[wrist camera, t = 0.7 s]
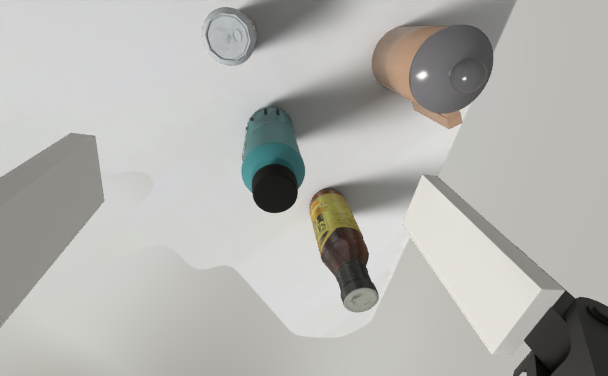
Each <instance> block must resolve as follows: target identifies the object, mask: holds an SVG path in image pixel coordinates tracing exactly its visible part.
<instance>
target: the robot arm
mask: <svg viewBox="0 0 608 376" xmlns="http://www.w3.org/2000/svg"><path fill="white" fill-rule="evenodd" d="M103 202H104V195H103V188H102V181H101V174H100V167H99V159H98V152H97V145H96V138H95V136H92V135H84V134H75V133H70V134H69V135H67V136H66V137H64V138H62V139H61V140H59V141H58V142H56V143H54V144H53V145H51V146H50V147H48V148H47V149H45V150H43V151H42V152H40V153H39V154H37V155H35V156H34V157H32V158H31V159H29V160H28V161H26V162H24V163H23V164H21V165H20V166H18V167H17V168H15V169H13V170H12V171H10V172H9V173H7V174H5V175H4V176H2V177H1V178H0V327H1V326H2V325H3V324H4V322H5V321H6V320H7V319H8V318H9V316H10V315H11V314H12V313H13V312H14V310H15V309H16V308H17V307H18V305H19V304H20V303H21V302H22V301H23V299H24V298H25V297H26V296H27V294H28V293H29V292H30V291H31V290H32V288H33V287H34V286H35V285H36V284H37V282H38V281H39V280H40V279H41V277H42V276H43V275H44V274H45V273H46V271H47V270H48V269H49V268H50V266H51V265H52V264H53V263H54V261H55V260H56V259H57V258H58V257H59V255H60V254H61V253H62V252H63V251H64V249H65V248H66V247H67V246H68V245H69V243H70V242H71V241H72V239H73V238H74V237H75V236H76V235H77V234H78V232H79V231H80V230H81V229H82V228H83V226H84V225H85V224H86V223H87V221H88V220H89V219H90V218H91V217H92V215H93V214H94V213H95V212H96V210H97V209H98V208H99V207H100V206H101V204H102V203H103ZM402 226H403V227H404V229H405V230H406V231H407V233H408V234H409V236H410V237H411V239H412V240H413V242H414V243H415V244H416V246H417V247H418V249H419V250H420V252H421V253H422V254H423V256H424V257H425V259H426V260H427V261H428V263H429V265H430V266H431V267H432V269H433V270H434V272H435V273H436V275H437V276H438V278H439V279H440V280H441V282H442V283H443V285H444V286H445V287H446V289H447V290H448V292H449V293H450V295H451V296H452V298H453V299H454V300H455V302H456V303H457V305H458V306H459V308H460V309H461V311H462V312H463V314H464V315H465V316H466V318H467V319H468V321H469V322H470V324H471V325H472V327H473V328H474V329H475V331H476V332H477V334H478V335H479V337H480V338H481V339H482V341H483V342H484V344H485V345H486V347H487V348H488V350H489V351H490V352H491V354H492V355H503V354H514V353H515V352H516V350H517V349H518V348H519V347H520V345H521V344H522V343H523V342H524V341H525V342H526V344H527V345H528V346H529V347H530V349H531V350H532V351H531V352H530V353H529V354H528V355H527V356H526V358H525V359H524V360H523V361H522V362H521V364H520V365H519V366H518V367H517V368H516V369H515V371H514V374H513V376H519V375H520V374H521V373H522V372H527V376H608V306H606V305H604V304H602V303H600V302H598V301H595V300H592V299H589V298H584V297H579V298H576V299H575V298H574V297H573V296H572V295H571V294H570V293H568V292H567V291H566V290H565V289H564V288H563V287H562V286H560V285H559V284H558V283H557V282H556V281H555V280H554V279H553V278H552V277H550V276H549V275H548V274H547V273H546V272H545V271H544V270H543V269H541V268H540V267H538V265H537V264H536V263H534V262H533V261H532V260H531V259H530V258H529V257H527V255H526V254H525V253H523V252H522V251H521V250H520V249H519V248H518V247H517V246H515V245H514V244H513V243H512V242H511V241H509V240H508V239H507V238H506V237H505V236H504V235H503V234H501V233H500V232H499V231H498V230H497V229H496V228H495V227H494V226H492V225H491V224H490V223H489V222H488V221H487V220H486V219H485V218H484V217H482V216H481V215H480V214H479V213H478V212H477V211H476V210H475V209H473V208H472V207H471V206H470V205H469V204H468V203H467V202H465V201H464V200H463V199H462V198H461V197H460V196H459V195H458V194H457V193H455V192H454V191H453V190H452V189H451V188H450V187H449V186H448V185H446V184H445V183H444V182H443V181H442V180H441V179H440V178H439V177H438V176H430V175H422V176H421V179H420V181H419V184H418V186H417V188H416V191H415V193H414V196H413V198H412V201H411V203H410V206H409V208H408V211H407V213H406V215H405V218H404V220H403V223H402Z"/></svg>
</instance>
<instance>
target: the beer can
mask: <svg viewBox="0 0 608 376" xmlns="http://www.w3.org/2000/svg"><path fill="white" fill-rule="evenodd" d="M202 39H203V44H204V46H205V48H206V50H207V52H208V53H209V54H210V56H211V57H212V58H214V59H215V60H216V61H217V62H219V63H222V64H224V65H230V66H233V65H239V64H241V63H243V62H245V61H246V60H247V59H248V58H249V57H250V56H251V54H252V52H253V50H254V48H255V44H256V41H257V31H256V28H255V25H254V23H253V22H252V20H251V19H250V18H249V17H247V16H246V15H245V14H243V13H242V12H240V11H238V10H236V9H234V8H228V7H223V8H219V9H216V10H214V11H213V12H211V13H210V14H209V15H208V16H207V17H206V19H205V21H204V24H203V27H202Z"/></svg>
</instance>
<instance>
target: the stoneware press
mask: <svg viewBox="0 0 608 376" xmlns="http://www.w3.org/2000/svg"><path fill="white" fill-rule="evenodd" d="M492 66H493V50H492V46H491V44H490V41H489V39H488V38H487V36H486V35H485V34H484V33H483V32H482V31H481V30H479V29H477V28H475V27H473V26H469V25H452V26H400V27H397V28H394V29H392V30H390V31H389V32H387V33H386V34H385V35H384V36H383V37H382V38H381V39H380V41H379V42H378V44H377V46H376V48H375V50H374V53H373V58H372V69H373V73H374V76H375V78H376V79H377V81H378V82H379V83H380V84H381V85H382V86H384V87H385V88H387V89H389V90H391V91H393V92H395V93H397V94H399V95H401V96H403V97H405V98H407V99H409V100H411V101H412V103H413V106H414V110H415V111H417V112H419V113H421V114H423V115H424V116H426V117H428V118H430V119H432V120H433V121H435V122H437V123H439V124H441V125H442V126H444V127H446V128H448V129H451V128H453V127H455V126H457V125H459V124H461V123H462V118H461V113H460V112H459V110H460V109H462V108H464V107H466V106H467V105H469V104H470V103H471V102H472V101H473V100H475V99H476V97H477V96H478V95H479V94H480V93H481V92H482V90H483V89H484V87H485V85H486V84H487V82H488V79H489V77H490V74H491V71H492Z"/></svg>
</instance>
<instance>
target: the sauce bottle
mask: <svg viewBox="0 0 608 376" xmlns="http://www.w3.org/2000/svg"><path fill="white" fill-rule="evenodd" d="M310 216H311V219H312V223H313V227H314V231H315V235H316V240H317V243H318V247H319V251H320V255H321V259H322V261H323V263H324V264H325V265H326V266H327V267H328V268H329V270H330V271H331V272H332V273H333V274H334V275H335V277H336V279H337V281H338V283H339V286H340V289H341V299H342V301H343V304H344V306H345V308H346V309H348V310H349V311H352V312H364V311H367V310H369V309H371V308H372V307H373V306H374V305H375V304H376V303H377V301H378V292H377V290H376V287H375V285H374V284H373V283H372V282H371V279H370V277H369V275H368V271H367V268H366V264H367V261H368V257H369V253H368V250H367V246H366V244H365V242H364V240H363V236H362V234H361V232H360V229H359V227H358V225H357V223H356V221H355V218H354V216H353V214H352V212H351V210H350V208H349V205H348V203H347V201H346V200H345V198H344V197H343V196H342V195H341V194H340V193H339V192H338V191H336V190H333V189H325V190H322V191H319V192H318V193H316V194H315V195H314V196H313V198H312V200H311V203H310Z"/></svg>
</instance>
